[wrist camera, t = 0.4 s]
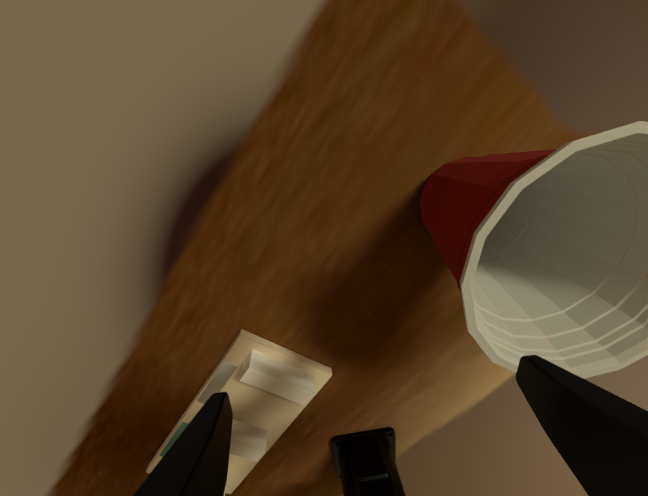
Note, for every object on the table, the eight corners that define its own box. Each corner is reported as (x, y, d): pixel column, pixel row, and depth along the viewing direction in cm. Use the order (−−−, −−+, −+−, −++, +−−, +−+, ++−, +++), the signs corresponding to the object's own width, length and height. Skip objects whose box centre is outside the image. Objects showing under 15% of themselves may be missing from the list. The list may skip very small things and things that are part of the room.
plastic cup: (465, 77, 19) (696, 32, 8) (554, 184, 23) (797, 251, 12) (350, 209, 22) (411, 306, 11) (446, 286, 26) (564, 417, 15)
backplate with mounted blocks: (331, 368, 28) (335, 394, 25) (231, 485, 33) (227, 516, 31) (241, 328, 25) (235, 353, 23) (149, 463, 30) (136, 496, 28)
